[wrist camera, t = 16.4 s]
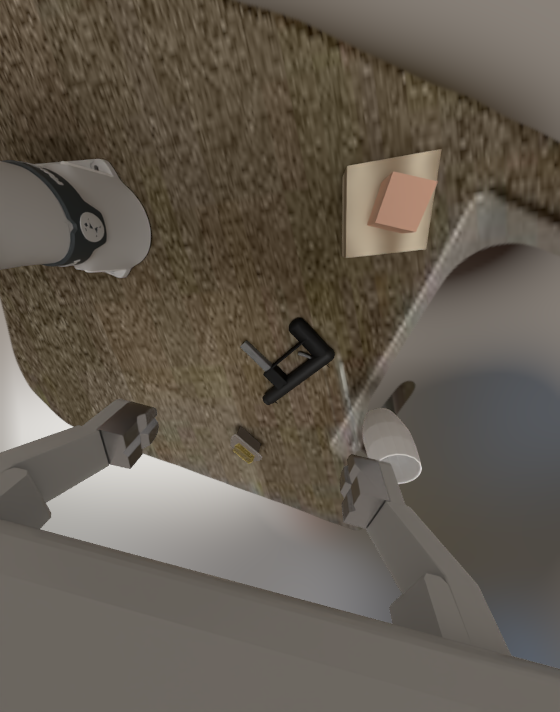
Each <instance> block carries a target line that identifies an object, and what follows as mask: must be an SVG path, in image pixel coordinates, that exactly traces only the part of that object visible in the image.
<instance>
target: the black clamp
mask: <svg viewBox="0 0 560 712" xmlns="http://www.w3.org/2000/svg"><path fill="white" fill-rule="evenodd" d="M289 331H290V333H291V334H292V335H293V336H294V337H295V338H296V339H297V340H298V341H299V343H297V344H296V345H295V346H294V347H293V348H291V349H290V350H289V351H288V352H287V353H285V354H284V355H283V356H282V357H281V358H279V359H278V360H277V361H276V362H275V363H273V364H271V363H270V362H269V361H268V360H267V359H266V358H265V357H264V356H263V355H262V354H261V353H260V352H259V351H258V350H257V349H255V348H254V347H253V346H252V345H251V344H250V343H249V342H248V341H247V340H246V341H245V342H244V343H243V344H242V345H241V346H240V347H241V348H242V349H243V350H244V351H245V352H246V353H247V354H248V355H249V356H250V357H251V358H252V359H253V360H254V361H255V362H256V363H257V364H258V365H259V366H260V367H261V368H262V369H263V370H264V371H265V372H264V374H263V375H264V376H265V377H266V378H267V379H268V380H269V381H270V382H271V383H272V384H273V385H274V387H273V388H272V389H270V390H269V391H268V392H267V393H266V394H265V395H264V396H263V401H264V403H265V404H267V405H270V404H272V403H274V402H276V401H277V400H278V399H280V398H281V397H282V396H284V395H285V394H287V393H288V392H289V391H291V390H292V389H293V388H295V387H296V386H297V385H299V384H300V383H302V382H303V381H304V380H306V379H307V378H308V377H310V376H311V375H313V374H314V373H315V372H317V371H318V370H319V369H321V368H322V367H323V366H325V365H327V364H328V363H329V362H330V361H332V360H333V358H334V356H335V354H334V351H333V350H332V349H331V348H329V347H328V346H327V344H326V343H325V342H324V341H323V340H322V339H321V338H320V337H319V336H318V335H317V334H316V333H315V331H314V330H313V329H312V328H311V327H310V326H309V325H308V324H307V323H306V322H305V321H304V320H303V319H302V318H297V319H295V320H294V321H292V322H291V324H290V325H289ZM301 344H302V345H303V346H304V347H305V348H306V349H307V350H308V351H309V353H310V354H311V355H312V356H313V357H311V356H309V355H307V354H305V353H301V352H298V355H300V356H304V357H307V358H309V360H308V361H307V362H305V363H304V364H303V365H301V366H300V367H299V368H298V369H296V370H295V371H294V372H292V373H291V374H290V375H288V376H287V375H286V374H285V373H284V372H283V371H282V370H281V369H280V368H279V367H278V366H277V364H278V363H280V362H281V361H282V360H283V359H284V358H286V357H287V356H288V355H289V354H290V353H292V352H293V351H294V350H295V349H297V348H298V347H299V346H300V345H301ZM327 366H328V365H327ZM328 367H329V366H328ZM329 368H330V367H329ZM276 403H277V402H276ZM277 404H278V403H277Z"/></svg>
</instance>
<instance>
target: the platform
mask: <svg viewBox="0 0 560 712" xmlns="http://www.w3.org/2000/svg"><path fill="white" fill-rule="evenodd" d="M237 445H238V446H239V447H238V446H237ZM260 445H261V444H260V443H259V442H258V441H257V440H256V439H255V438H254V437H252V436H251V435H250V434H249V433H248V432H247V431H245V430H244V429H243V428H242V427H241V426H240V428H239V431H238V433H237V435H236V434H235V435H233V436H232V437H231V447H232V448H233V450H234V451H235V453H236V454H237V455H239V456H240V457H241V458H242V459H243V460H245V461H246V462H247V463H248V464H249V463H251V462H253V461H259V460H261V459H262V456H261V455H260V454H259V449H260ZM250 454H251V455H252V456H251V455H250ZM241 455H242V456H241ZM249 455H250V456H249Z"/></svg>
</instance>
